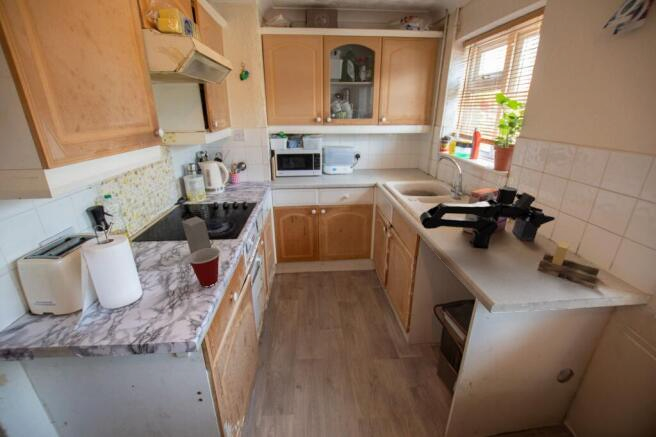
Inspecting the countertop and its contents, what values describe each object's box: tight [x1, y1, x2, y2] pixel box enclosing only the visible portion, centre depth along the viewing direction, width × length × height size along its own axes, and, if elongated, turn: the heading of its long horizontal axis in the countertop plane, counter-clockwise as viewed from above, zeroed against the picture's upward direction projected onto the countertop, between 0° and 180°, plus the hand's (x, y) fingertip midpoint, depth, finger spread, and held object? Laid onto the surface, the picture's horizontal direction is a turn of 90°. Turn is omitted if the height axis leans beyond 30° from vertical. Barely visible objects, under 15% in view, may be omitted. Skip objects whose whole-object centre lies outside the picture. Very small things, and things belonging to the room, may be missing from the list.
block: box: [552, 240, 570, 266], centre depth 112 cm, size 3×6×9 cm, turn 135°
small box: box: [511, 217, 539, 243], centre depth 140 cm, size 11×6×10 cm, turn 168°
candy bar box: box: [492, 204, 512, 234], centre depth 146 cm, size 11×5×16 cm, turn 117°
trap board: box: [536, 252, 600, 289], centre depth 112 cm, size 17×11×4 cm, turn 45°
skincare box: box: [181, 216, 212, 254], centre depth 122 cm, size 8×7×16 cm
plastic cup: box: [186, 247, 221, 287], centre depth 103 cm, size 11×11×12 cm
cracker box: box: [462, 187, 499, 235], centre depth 145 cm, size 14×6×21 cm, turn 119°
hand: (548, 214), depth 125 cm, fingers open, 9 cm apart
